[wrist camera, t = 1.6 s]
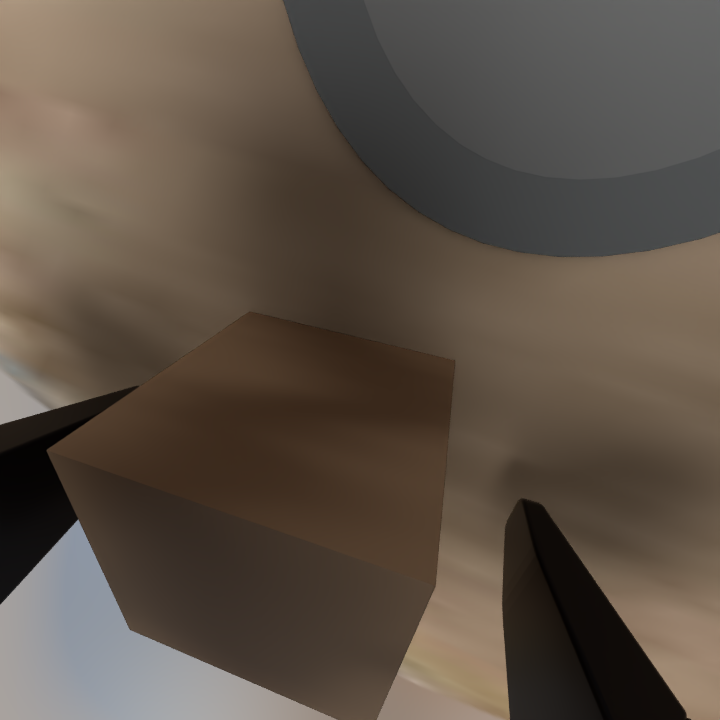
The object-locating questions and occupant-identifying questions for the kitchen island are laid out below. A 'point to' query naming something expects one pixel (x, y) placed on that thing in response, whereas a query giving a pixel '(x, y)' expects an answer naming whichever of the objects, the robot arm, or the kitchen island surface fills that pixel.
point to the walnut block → (274, 506)
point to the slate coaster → (530, 114)
